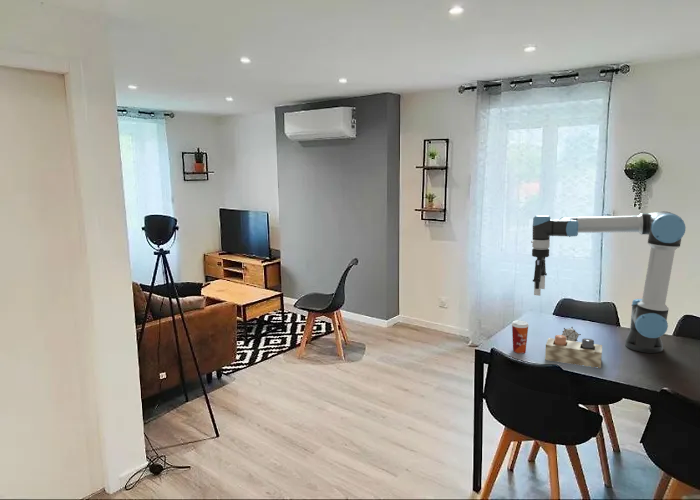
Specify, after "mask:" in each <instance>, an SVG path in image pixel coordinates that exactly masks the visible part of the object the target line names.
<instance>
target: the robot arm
mask: <svg viewBox="0 0 700 500" xmlns="http://www.w3.org/2000/svg"><path fill="white" fill-rule="evenodd" d="M532 219H533V220H532V240H531V241H530V243H532V247H531V248H532V249H531V256H532V257H535V258H536V259H535V261H534V275H533V279H532V283H533V284H534V286H533V295H534V296H541V293H542V291H541V290H545V289H546V288H545V287H546V277H547V276H548V275H547V273H546V270H547V269H546V268H547V267H546V258H549V257H550V248H551V246H550V244H551V243H550V239H551V238H550V237H569V238H570V237H571V238H572V237H577V236H579V233H581V234H584V233H639V234H640V235H648V237H647V244H648V245H649V246H650V252H649V257H648V263H647V269H646V275H645V280H644V281H645V282H644V287H643V293H642V298H635V299H632V303H631V315H630V329H629V332H628V334H627V336H626V338H625V341H624V342H625V343H624V346H625V347H626V348H628V349H631V351H632V350H633V351H635V352H640V353H644V354H645V353H648V354H658V353H661V352H663V351H664V350H663V349H664V344H663V340H662V338H661V337H662V336H664V335H665V334H666V332H667V331H668V327H669V325H668V324H669V323H668V315H669V311H670V309H669V307H668V305H667V304H666V302H667V296H668V291H669V285H670V279H671V274H672V268H673V263H674V257H675V253H676V252H675V251H676V250H677V249H679V248H680V247H681V244H682V238H683V237H684V235H685V233H686V228H687V227H686V224H685V222H684V220H683V219H682V217H681V216H679V215H678V214H675V213H673V212H670V211H665V210H664V211H658V212H657V211H656V212H647V213H646V212H645V213H642V212H641V213H640V214H638V215H616V216H615V215H613V216H578V217H575V216H574V217H573V216H571V217H570V216H562V217H561V218H559V219H551V216H550V215H540V214H539V215H534V217H533V218H532Z"/></svg>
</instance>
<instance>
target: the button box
mask: <svg viewBox="0 0 700 500" xmlns="http://www.w3.org/2000/svg"><path fill="white" fill-rule="evenodd" d="M547 338H548V339H547V340H546V344H545V355H544V358H545V359H544V360H545V361H550V362H556V363H557V362H558V363H564V364H570V365H575V364H576V365H575V366H582V365H584V366H583V367H588V366H591V367H590V368H594V367H598V368H597V369H601V368H602V358H603V357H602V355H603V344H597V343H594V350H591V349H583V348H582V341H568V340H566V346H562V345H555V338H552V337H547Z"/></svg>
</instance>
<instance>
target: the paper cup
mask: <svg viewBox="0 0 700 500" xmlns="http://www.w3.org/2000/svg"><path fill="white" fill-rule="evenodd" d="M510 325H511V329H512V330H511V331H512V332H511V333H512V350H513V352H514V353H516V354H525V353H526V351H527V343H528V342H527V341H528V331H529V327H530V325H529V323H528V322H527V321H526V320H518V319H516V320H513V321H512V323H511V324H510Z"/></svg>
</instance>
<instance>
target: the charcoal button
mask: <svg viewBox="0 0 700 500" xmlns="http://www.w3.org/2000/svg"><path fill="white" fill-rule="evenodd" d="M581 342H582V348H583V349H591V350H594V344H595V341H594V339H592V338H582V339H581Z"/></svg>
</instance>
